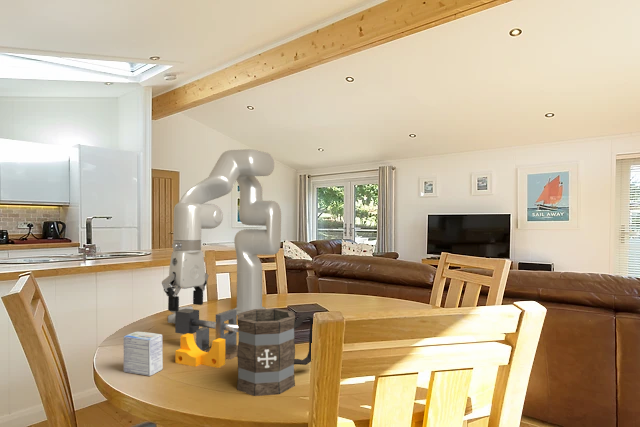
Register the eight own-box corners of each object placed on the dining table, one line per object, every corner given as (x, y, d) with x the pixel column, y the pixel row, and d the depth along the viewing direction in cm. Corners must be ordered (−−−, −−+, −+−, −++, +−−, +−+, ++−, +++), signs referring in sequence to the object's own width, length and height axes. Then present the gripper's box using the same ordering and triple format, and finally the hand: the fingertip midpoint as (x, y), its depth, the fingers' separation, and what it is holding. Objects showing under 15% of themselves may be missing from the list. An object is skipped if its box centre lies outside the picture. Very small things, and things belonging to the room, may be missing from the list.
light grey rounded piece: (167, 317, 131) (167, 302, 145) (167, 332, 132) (167, 316, 146) (198, 314, 135) (195, 300, 149) (198, 329, 135) (195, 313, 149)
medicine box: (163, 370, 97) (163, 333, 97) (149, 377, 93) (150, 339, 93) (137, 365, 100) (137, 330, 100) (122, 372, 96) (123, 335, 96)
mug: (249, 402, 81) (249, 326, 81) (226, 378, 92) (226, 312, 92) (331, 380, 91) (331, 314, 91) (301, 362, 103) (301, 303, 103)
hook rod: (175, 332, 114) (175, 311, 114) (185, 329, 118) (185, 308, 118) (242, 343, 105) (242, 320, 105) (251, 339, 108) (251, 316, 108)
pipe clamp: (175, 363, 102) (175, 337, 102) (187, 358, 106) (187, 333, 106) (214, 371, 97) (214, 344, 97) (225, 365, 101) (225, 339, 101)
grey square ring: (191, 352, 110) (191, 311, 110) (208, 344, 116) (208, 306, 116) (230, 359, 104) (230, 316, 104) (246, 351, 111) (246, 310, 111)
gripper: (174, 248, 105) (173, 315, 105) (217, 245, 121) (216, 303, 121) (153, 247, 108) (152, 312, 108) (197, 245, 124) (196, 301, 124)
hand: (186, 307), depth 114 cm, fingers open, 9 cm apart
